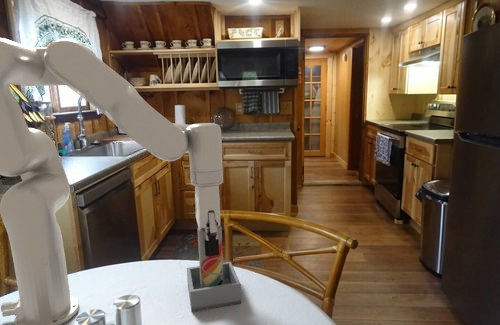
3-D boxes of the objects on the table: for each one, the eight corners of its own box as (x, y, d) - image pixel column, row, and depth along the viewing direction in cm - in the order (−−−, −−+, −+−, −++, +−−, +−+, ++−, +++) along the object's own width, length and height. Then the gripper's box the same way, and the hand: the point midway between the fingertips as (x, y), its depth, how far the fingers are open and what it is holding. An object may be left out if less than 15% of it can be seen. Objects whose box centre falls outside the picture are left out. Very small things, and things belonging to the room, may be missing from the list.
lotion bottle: (220, 292, 79) (216, 211, 76) (197, 290, 80) (192, 210, 77) (226, 279, 85) (223, 204, 81) (205, 278, 86) (201, 203, 82)
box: (191, 312, 76) (190, 291, 75) (187, 285, 87) (186, 267, 86) (241, 303, 79) (240, 283, 78) (231, 278, 90) (230, 261, 89)
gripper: (187, 170, 85) (191, 238, 88) (193, 186, 69) (198, 268, 72) (217, 168, 87) (219, 234, 90) (229, 183, 70) (232, 263, 74)
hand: (210, 248), depth 81 cm, fingers closed on lotion bottle, 5 cm apart
